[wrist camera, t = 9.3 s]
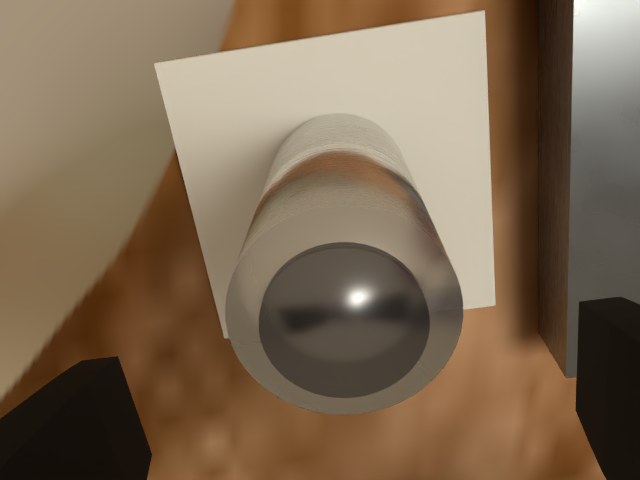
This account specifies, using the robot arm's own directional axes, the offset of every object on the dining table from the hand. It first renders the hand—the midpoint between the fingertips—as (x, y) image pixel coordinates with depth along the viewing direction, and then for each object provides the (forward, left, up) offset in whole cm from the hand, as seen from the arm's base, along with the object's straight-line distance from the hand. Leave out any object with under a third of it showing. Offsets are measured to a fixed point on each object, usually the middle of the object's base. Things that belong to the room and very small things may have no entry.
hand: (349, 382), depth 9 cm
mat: (0, 0, -9) cm, 9 cm away
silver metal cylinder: (0, 0, -9) cm, 9 cm away
